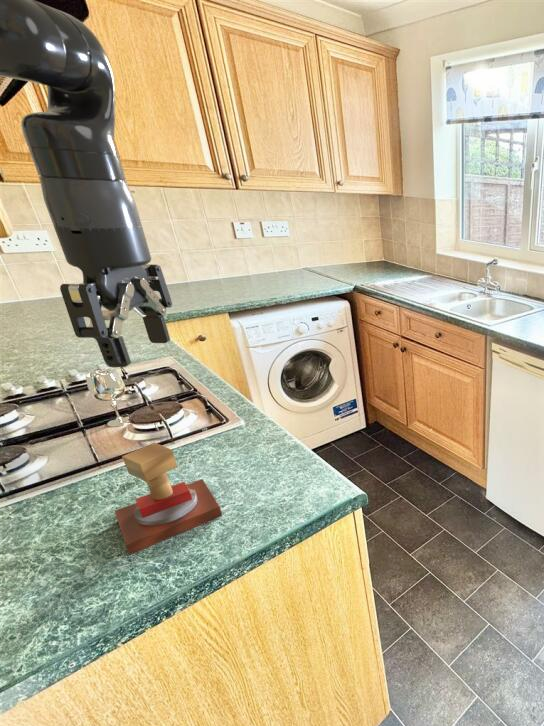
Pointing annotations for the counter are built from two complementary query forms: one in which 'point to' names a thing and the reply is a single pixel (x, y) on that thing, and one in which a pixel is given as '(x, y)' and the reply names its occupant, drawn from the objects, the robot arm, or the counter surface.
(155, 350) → the counter surface
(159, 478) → the stamp
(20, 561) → the counter surface
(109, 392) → the wineglass
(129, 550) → the stamp stand
